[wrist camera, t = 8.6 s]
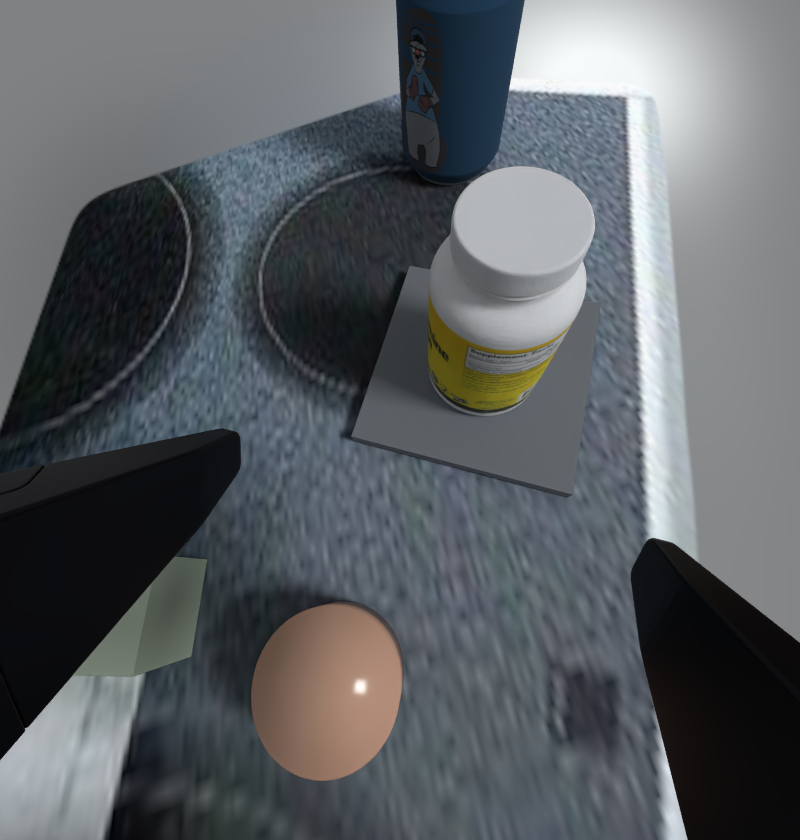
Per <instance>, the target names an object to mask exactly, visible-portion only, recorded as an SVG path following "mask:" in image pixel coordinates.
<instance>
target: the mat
mask: <svg viewBox="0 0 800 840" xmlns="http://www.w3.org/2000/svg"><path fill="white" fill-rule="evenodd" d="M429 275H430V270H429V269H423V268H418V267H413V266H409V269H408V272H407V275H406V278H405V281H404V284H403V287H402V290H401V293H400V296H399V299H398V302H397V304H396V307H395V310H394V313H393V316H392V319H391V322H390V325H389V328H388V331H387V334H386V337H385V339H384V342H383V345H382V348H381V351H380V354H379V357H378V360H377V363H376V366H375V369H374V372H373V374H372V377H371V380H370V383H369V386H368V389H367V392H366V395H365V398H364V401H363V404H362V407H361V409H360V412H359V415H358V418H357V421H356V424H355V427H354V430H353V433H352V436H351V437H352V439H353V441H356V442H360V443H364V444H368V445H371V446H375V447H379V448H383V449H386V450H390V451H394V452H398V453H402V454H405V455H409V456H413V457H417V458H421V459H424V460H428V461H432V462H436V463H439V464H443V465H447V466H451V467H455V468H458V469H462V470H466V471H470V472H474V473H477V474H481V475H485V476H489V477H492V478H496V479H500V480H504V481H508V482H511V483H515V484H519V485H523V486H527V487H530V488H534V489H538V490H542V491H545V492H549V493H553V494H557V495H561V496H564V497H569V496H571V495H573V489H574V483H575V476H576V469H577V462H578V455H579V449H580V442H581V435H582V428H583V422H584V415H585V408H586V401H587V395H588V388H589V381H590V374H591V368H592V361H593V354H594V347H595V341H596V334H597V327H598V320H599V314H600V307H601V303H596V302H591V301H586V300H583V303H582V305H581V308H580V310H579V312H578V314H577V316H576V318H575V320H574V322H573V323H572V325H571V327H570V328H569V330H568V332H567V334H566V335H565V337H564V339H563V340H562V342H561V344H560V346H559V347H558V349H557V351H556V352H555V354H554V356H553V357H552V359H551V361H550V363H549V364H548V366H547V368H546V369H545V371H544V372H543V374H542V376H541V378H540V379H539V381H538V382H537V384H536V386H535V387H534V389H533V390H532V392H531V393H530V395H529V396H528V397H527V398H526V399H525V400H524V401H523V402H522V403H521V404H520V405H519V406H517V407H516V408H514V409H512V410H510V411H508V412H505V413H502V414H499V415H494V416H477V415H472V414H468V413H465V412H462V411H459V410H457V409H455V408H453V407H452V406H450V405H449V404H448V403H446V402H445V401H444V400H443V399H442V398H441V397H440V395H439V394H438V393H437V391H436V390H435V388H434V386H433V384H432V382H431V379H430V376H429V370H428V319H429V318H428V305H429V286H428V281H429Z"/></svg>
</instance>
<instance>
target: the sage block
mask: <svg viewBox="0 0 800 840" xmlns="http://www.w3.org/2000/svg"><path fill="white" fill-rule="evenodd" d="M206 564H207V559H196V558H184V557H174V558H173V559H172V560H171V561H170V563H169V564H168V565H167V566H166V567H165V568H164V570H163V571H162V572H161V573H160V574H159V575H158V577H157V578H156V579H155V580H154V581H153V582H152V584H151V585H150V586H149V587H148V588H147V589H146V591H145V592H144V593H143V594H142V595H141V596H140V598H139V599H138V600H137V601H136V602H135V603H134V605H133V606H132V607H131V608H130V609H129V610H128V611H127V613H126V614H125V615H124V616H123V617H122V618H121V620H120V621H119V622H118V623H117V624H116V625H115V627H114V628H113V629H112V630H111V631H110V632H109V634H108V635H107V636H106V637H105V638H104V639H103V641H102V642H101V643H100V644H99V645H98V646H97V648H96V649H95V650H94V651H93V652H92V653H91V655H90V656H89V657H88V658H87V659H86V660H85V662H84V663H83V664H82V665H81V666H80V667H79V668H78V670H77V671H76V672H75V673H74V674H73V675H82V676H125V677H133V676H136V675H139V674H142V673H145V672H148V671H151V670H154V669H157V668H159V667H162V666H165V665H168V664H171V663H174V662H177V661H180V660H183V659H186V658H189V657H191V656H192V649H193V643H194V637H195V631H196V625H197V619H198V613H199V607H200V600H201V594H202V588H203V582H204V576H205V570H206Z"/></svg>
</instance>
